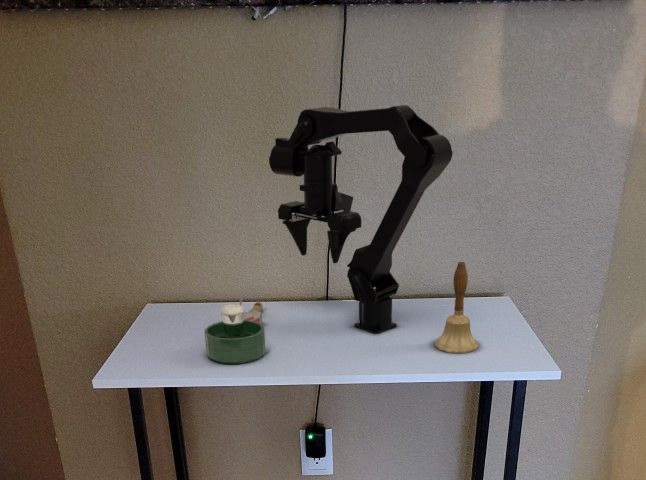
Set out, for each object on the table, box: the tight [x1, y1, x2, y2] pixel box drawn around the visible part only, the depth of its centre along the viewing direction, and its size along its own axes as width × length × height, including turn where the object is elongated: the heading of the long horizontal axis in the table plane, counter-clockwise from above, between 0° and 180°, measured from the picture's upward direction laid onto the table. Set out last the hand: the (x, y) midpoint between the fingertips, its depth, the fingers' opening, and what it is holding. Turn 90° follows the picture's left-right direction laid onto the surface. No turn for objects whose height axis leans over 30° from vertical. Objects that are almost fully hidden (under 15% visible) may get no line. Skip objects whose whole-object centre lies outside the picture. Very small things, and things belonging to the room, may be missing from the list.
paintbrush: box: [245, 301, 264, 326], centre depth 158 cm, size 4×3×20 cm
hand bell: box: [434, 261, 479, 354], centre depth 141 cm, size 8×8×16 cm
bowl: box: [204, 320, 267, 365], centre depth 143 cm, size 11×11×5 cm
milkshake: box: [219, 295, 246, 339], centre depth 141 cm, size 5×5×10 cm
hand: (319, 259), depth 157 cm, fingers open, 9 cm apart
